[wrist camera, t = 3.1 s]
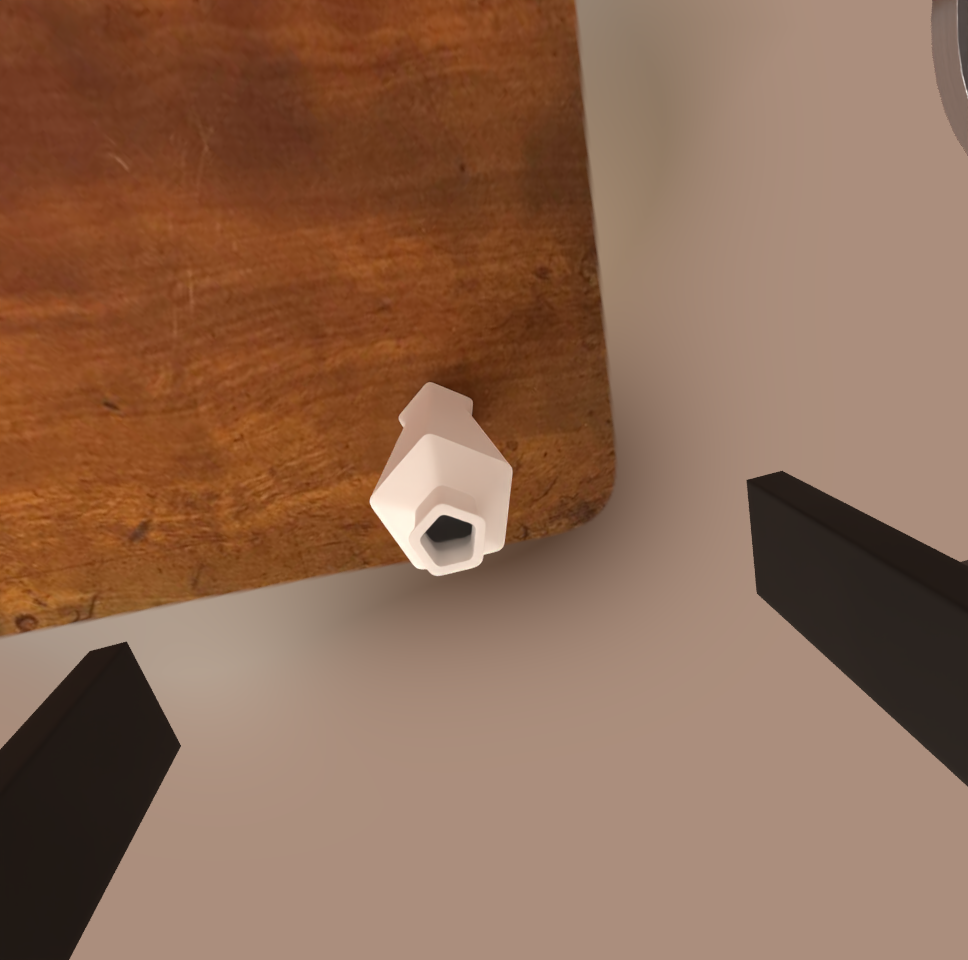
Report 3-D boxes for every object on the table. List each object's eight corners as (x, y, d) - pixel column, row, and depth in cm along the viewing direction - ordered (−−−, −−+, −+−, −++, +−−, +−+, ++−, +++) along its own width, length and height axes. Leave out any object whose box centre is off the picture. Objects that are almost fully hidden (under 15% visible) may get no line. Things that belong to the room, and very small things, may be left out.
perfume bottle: (500, 433, 31) (564, 561, 17) (429, 476, 31) (431, 637, 17) (454, 357, 29) (482, 426, 15) (380, 403, 30) (339, 512, 15)
